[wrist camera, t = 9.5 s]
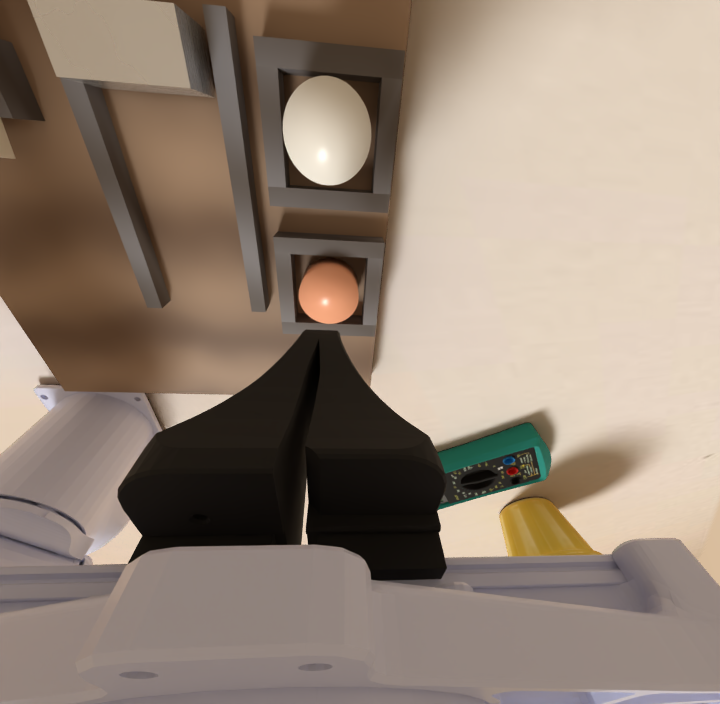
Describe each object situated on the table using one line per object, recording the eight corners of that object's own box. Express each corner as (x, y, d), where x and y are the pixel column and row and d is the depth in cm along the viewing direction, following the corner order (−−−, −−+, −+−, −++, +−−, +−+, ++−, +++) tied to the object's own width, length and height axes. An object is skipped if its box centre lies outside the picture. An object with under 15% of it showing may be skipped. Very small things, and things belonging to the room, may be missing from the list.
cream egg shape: (365, 183, 13) (367, 187, 12) (293, 178, 13) (286, 182, 12) (371, 89, 11) (375, 80, 10) (287, 81, 11) (278, 70, 10)
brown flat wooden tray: (367, 380, 24) (370, 411, 21) (85, 373, 23) (47, 406, 20) (409, -39, 12) (429, -98, 9) (-205, -112, 10) (-414, -211, 8)
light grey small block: (215, 97, 12) (190, 88, 10) (104, 88, 12) (56, 76, 10) (204, 28, 11) (173, 3, 9) (81, 16, 11) (22, -13, 9)
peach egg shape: (356, 310, 18) (357, 324, 17) (304, 308, 18) (300, 322, 17) (359, 259, 16) (360, 269, 15) (301, 255, 16) (297, 266, 15)
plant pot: (584, 505, 38) (649, 602, 29) (514, 536, 42) (554, 629, 34) (540, 477, 34) (601, 581, 26) (468, 515, 38) (501, 614, 30)
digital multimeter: (542, 456, 32) (558, 481, 30) (414, 494, 35) (419, 519, 33) (533, 414, 28) (551, 439, 26) (390, 461, 32) (394, 487, 29)
